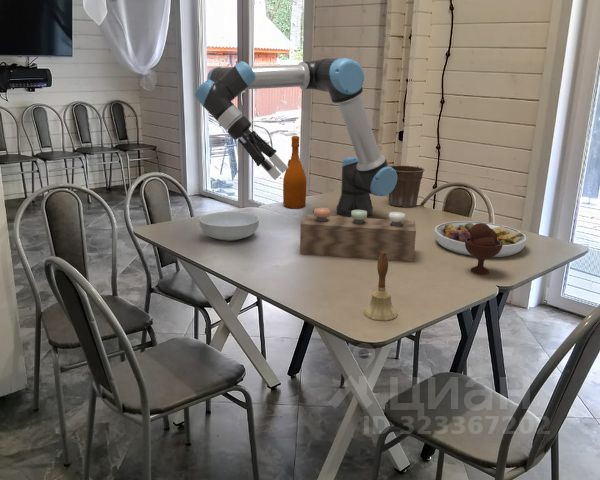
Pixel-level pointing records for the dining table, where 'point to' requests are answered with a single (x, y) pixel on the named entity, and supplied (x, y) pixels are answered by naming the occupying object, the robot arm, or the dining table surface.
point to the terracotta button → (322, 214)
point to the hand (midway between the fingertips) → (281, 173)
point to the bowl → (457, 231)
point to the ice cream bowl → (482, 246)
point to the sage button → (359, 216)
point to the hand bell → (381, 296)
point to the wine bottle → (294, 179)
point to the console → (358, 238)
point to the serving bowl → (229, 225)
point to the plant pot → (406, 186)
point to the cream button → (396, 218)
